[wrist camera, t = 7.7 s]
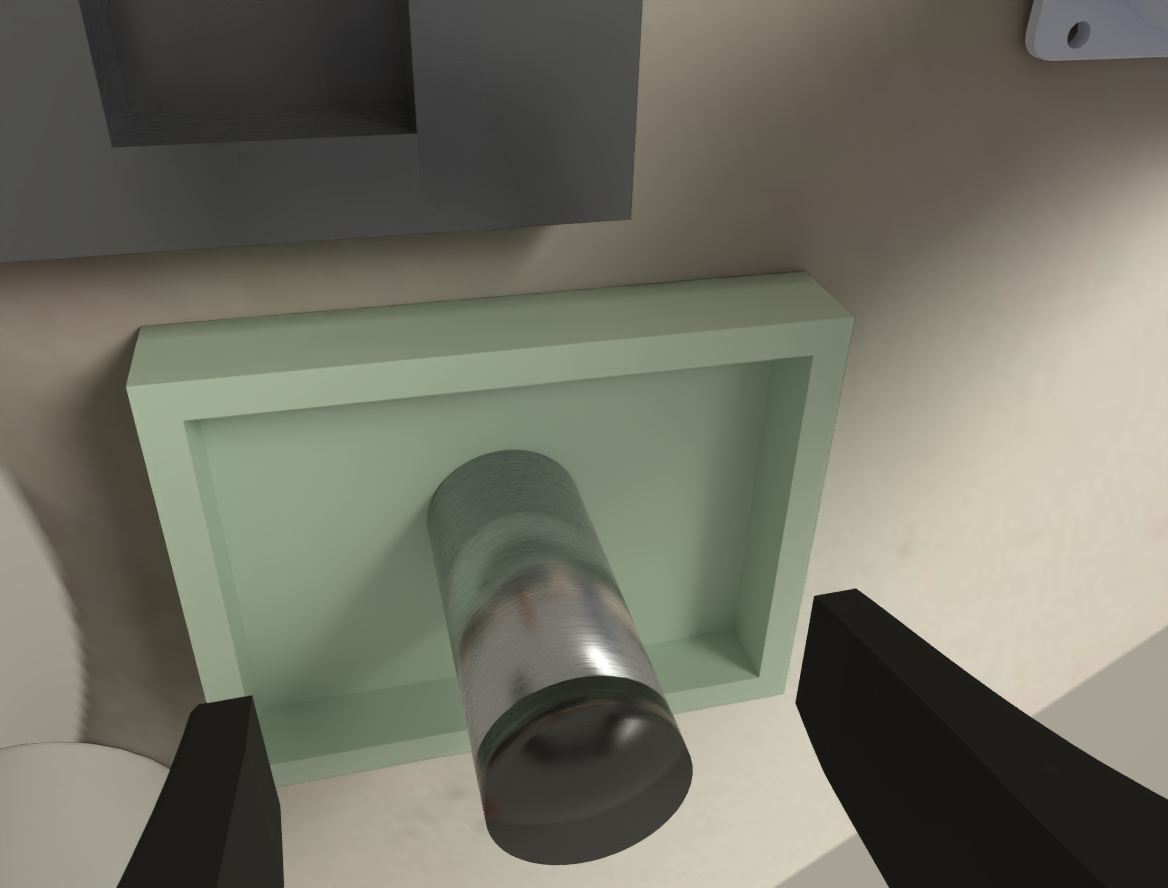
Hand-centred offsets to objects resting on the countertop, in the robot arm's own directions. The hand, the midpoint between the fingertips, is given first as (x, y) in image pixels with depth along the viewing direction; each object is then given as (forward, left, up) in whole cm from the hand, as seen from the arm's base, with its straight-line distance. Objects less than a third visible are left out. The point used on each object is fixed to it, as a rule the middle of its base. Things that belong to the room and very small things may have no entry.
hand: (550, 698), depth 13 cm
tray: (-1, +5, -10) cm, 11 cm away
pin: (-1, +4, -10) cm, 11 cm away
